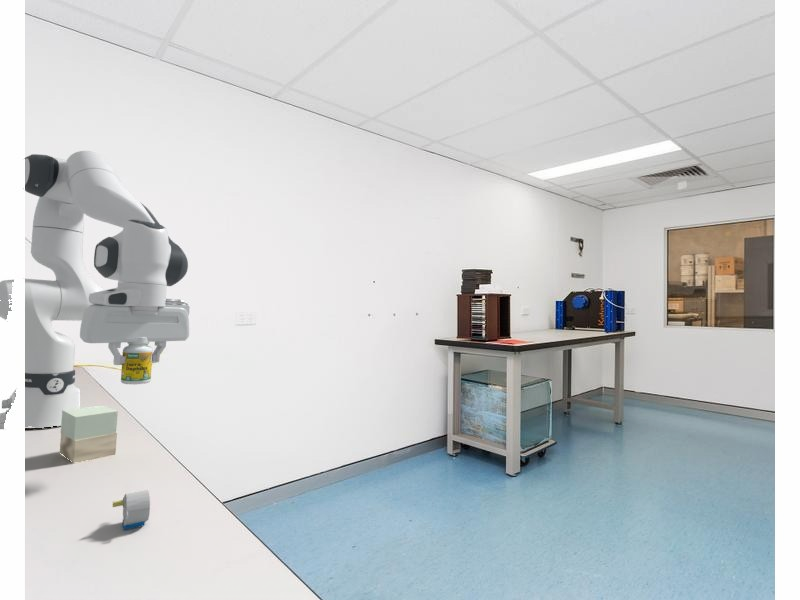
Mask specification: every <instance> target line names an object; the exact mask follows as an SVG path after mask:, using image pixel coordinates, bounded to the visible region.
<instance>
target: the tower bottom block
mask: <svg viewBox="0 0 800 600" xmlns="http://www.w3.org/2000/svg"><path fill="white" fill-rule="evenodd" d="M117 437H118V433H117V432H116V433H115V434H109V435H104V436H98V437H92V438H87V439H81V440H76V441H74V440H72V439H70V438H69V437H67V436H65V435H64V434H62V433H61V432H60V444H59V454H60V453H61V454H63V455H64V456H65V457H66V458H68V459H69V460H71V461H72V462H73V463H72V462H71V463H72V464H76V463H75V462H79V463H82V462H81V461H83V462H86V460H88V461H90V460H91V461H92V460H96V459H101V458H105V457H109V456H115V455H116V453H117V452H116V450H117ZM66 458H65V459H66ZM69 460H68V461H69Z"/></svg>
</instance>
